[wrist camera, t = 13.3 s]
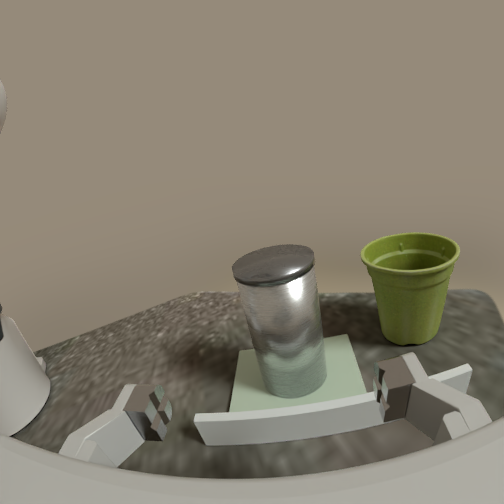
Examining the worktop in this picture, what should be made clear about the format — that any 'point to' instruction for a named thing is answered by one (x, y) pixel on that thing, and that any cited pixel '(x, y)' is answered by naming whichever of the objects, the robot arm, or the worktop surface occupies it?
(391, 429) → the worktop surface
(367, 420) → the wall
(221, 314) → the worktop surface
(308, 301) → the canister
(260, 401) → the pad
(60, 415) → the worktop surface
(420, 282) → the plant pot
